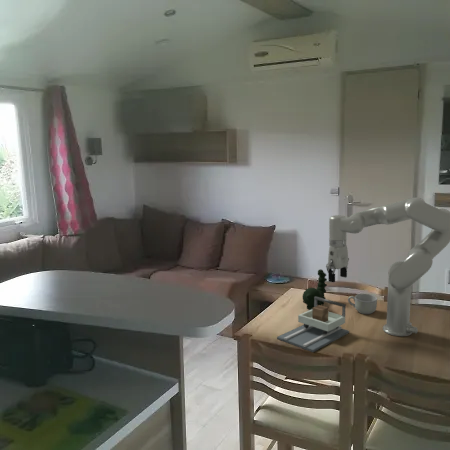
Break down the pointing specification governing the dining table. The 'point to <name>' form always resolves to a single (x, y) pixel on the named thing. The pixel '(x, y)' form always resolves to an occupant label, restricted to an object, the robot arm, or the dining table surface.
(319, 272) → the toy figurine
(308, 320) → the shallow sage tray
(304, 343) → the track
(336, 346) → the dining table surface
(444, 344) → the dining table surface
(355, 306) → the teacup
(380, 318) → the dining table surface
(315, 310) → the walnut block
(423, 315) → the dining table surface
